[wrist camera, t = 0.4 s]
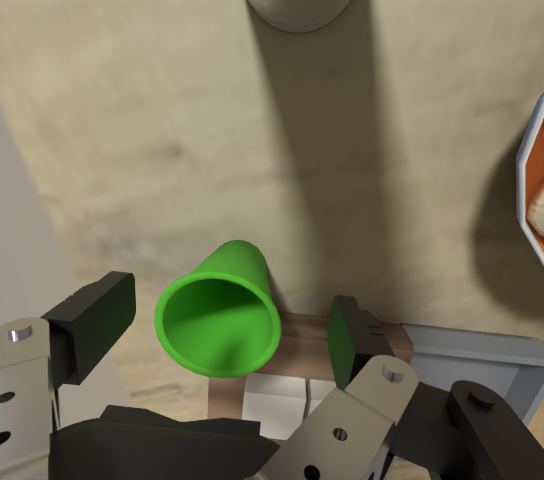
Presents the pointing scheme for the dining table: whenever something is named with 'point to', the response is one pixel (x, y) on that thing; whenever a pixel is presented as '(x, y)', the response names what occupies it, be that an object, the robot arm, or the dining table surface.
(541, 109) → the ramen bowl
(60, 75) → the dining table surface
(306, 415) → the tile
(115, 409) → the robot arm
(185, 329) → the cup
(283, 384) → the tile
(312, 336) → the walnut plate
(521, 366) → the box
